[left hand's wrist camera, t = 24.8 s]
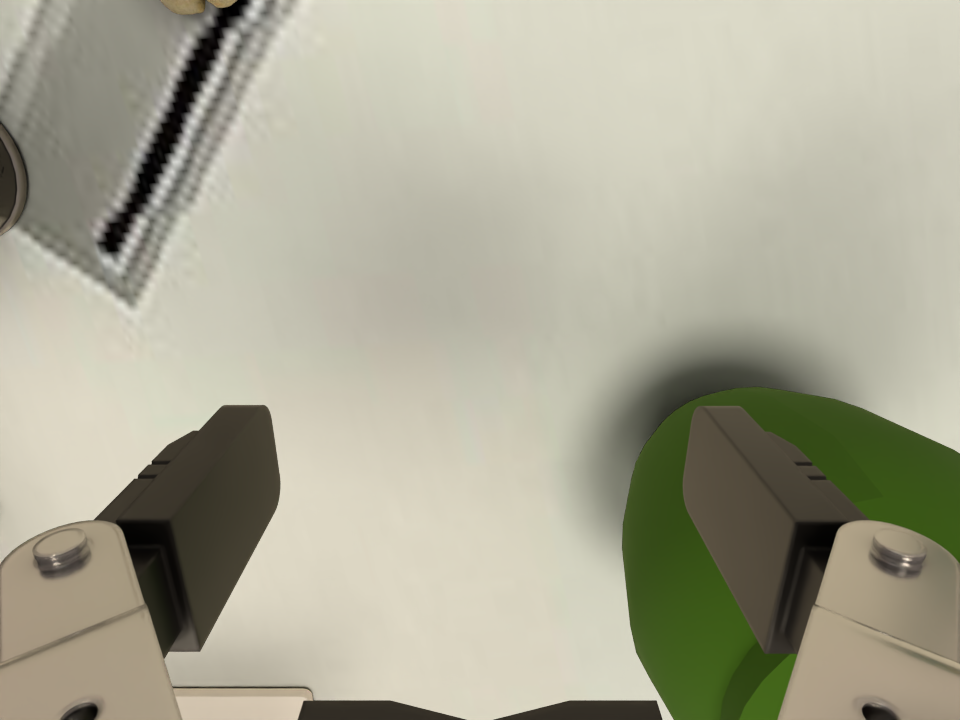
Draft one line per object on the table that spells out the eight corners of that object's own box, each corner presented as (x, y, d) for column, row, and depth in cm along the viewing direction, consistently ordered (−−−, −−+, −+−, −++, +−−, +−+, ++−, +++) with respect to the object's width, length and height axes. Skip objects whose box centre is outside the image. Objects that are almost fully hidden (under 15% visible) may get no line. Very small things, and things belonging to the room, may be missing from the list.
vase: (537, 501, 46) (591, 858, 24) (665, 279, 40) (911, 478, 17) (745, 582, 49) (972, 969, 27) (897, 388, 43) (1368, 681, 20)
